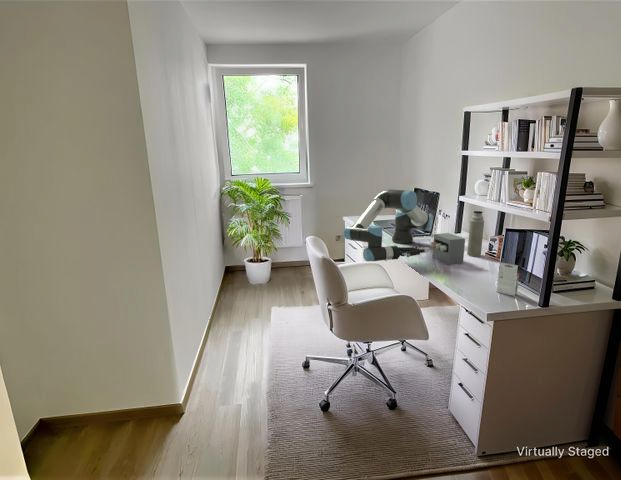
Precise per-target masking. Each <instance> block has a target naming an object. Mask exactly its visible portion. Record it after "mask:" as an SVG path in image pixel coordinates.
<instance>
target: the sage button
mask: <svg viewBox="0 0 621 480" xmlns="http://www.w3.org/2000/svg"><path fill="white" fill-rule="evenodd" d="M448 247H449V246H446V245H443V246H440V250H441V251H445V250H447V249H448Z"/></svg>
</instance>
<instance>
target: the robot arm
mask: <svg viewBox="0 0 621 480" xmlns="http://www.w3.org/2000/svg"><path fill="white" fill-rule="evenodd" d="M417 204H418V196H417V194H416V191H413V190H409V189H406V190H405V189H391V188H390V189H385V190H382V191H381V192H378V194H376V195H375V196H374V197H373V198H371V200H370V204H369V205H368V207H367V208H366V209H365V210H364V212H362V213H361V215H360V216H359V217H358V219H357V220H356V221H355V222H354V224H352V226H346V227H345V228H344V230H343V236H344V239H346V240H347V241H353V242H354V241H355V242H362V243H367V247H365V248H363V252H362V254H363V256H362V257H363V259H364V261H366V262H380V261H384V262H387V261H390V260H393V261H394V260H398V259H399V258H400V257H407V258H410V257H413V256H419V255H421V254H425V253H427V254H428V253H430V248H429V247H428V246H427V247H417V246H415V247H414V246H412V247H411V246H409V247H406V246H403V247H401V246H398V245H390V246H389V245H388V246H383V245H382V244H383V227H382V226H380V225H371V224H372V223H373V222H374V221H375V219H376V218H377V216H379V214H381V213H380V212H383V211H385V209H395V210H397V211H395V217H394V219H395V220H394V233H393V235H392V238H391V242H392V241H393V243H394V242H396V243H395V244H399V243H410V244H412V243H411V242H413V243H414V237H413V233H412V230H413V229H415V230H419V231H420V230H421V231H431V230H432V226H433V222H434V216H433V214H432V213H428V212H426V211H425V210H423V209H421V208H420V207H419V206H418V205H417Z"/></svg>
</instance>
